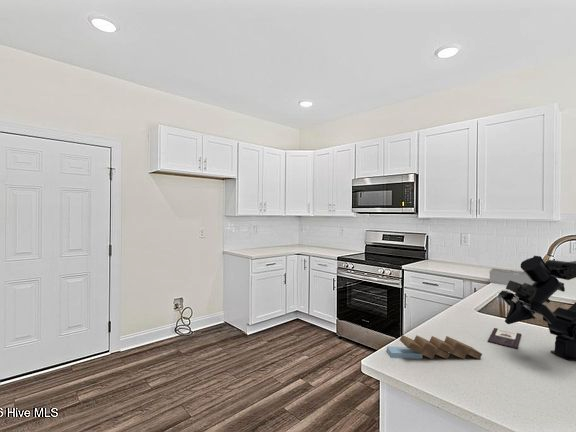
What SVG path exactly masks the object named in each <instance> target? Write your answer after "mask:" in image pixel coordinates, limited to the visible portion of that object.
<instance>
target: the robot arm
mask: <svg viewBox="0 0 576 432" xmlns="http://www.w3.org/2000/svg"><path fill="white" fill-rule="evenodd" d="M520 268H521V269H522V270H521V271H522V272H525V273H526V274H527V276H528V277H529V278H530V279H531V280H532V281H534V283H533V284H532V285H530V284H527V283H524V284H519V283H517V282H514V281H510V280H509V282H508V284H507V285H505V289H506V290H501V291H500V292H499V293H498V296H499V297H500V298H501V299H502V300H503V301H504V302H505V303H506V304H507V305H508V306H509V307H510V308H509V311H508V312H507V315H506V317H505V320H504V323H506V325H511V324H516V323H520V322H522V321H528V320H531V319H532V320H535V319H536V315H541V316H542V320H543V322H546V323H547V327H548V330H549V334H550V335H554V336H555V341H554V349H553V350H550V353H551V354H554V355H556V356H558V357H560V358H563V359H564V360H567V361H571V362H572V361H576V301H575V302H574V303H573V304H572V305H571V306H570V307H569V308H564V307H563V308H562V307H557V308H555V310H554V311H553V312H552V310H551V309H550V308H549V307H548V306H547V305H546V304H545V303H547V304H548V303H550V302H551V300H550V297H552V295H554V294H555V292H557V291H560V292H563V293H565V291H566V288H565V283H564V282H561V281H559V279H561V280H565V281H569V280H572V279H573V280H574V279H575V278H576V260H573V261H562V260H557V259H556V260H553V259H548V260H546V261H544V259H543V258H542V255H541V256H539V255H533V256H532V257H529V258H526V259H525V260H523V261H522V262H521V263H520ZM507 290H508V291H507Z"/></svg>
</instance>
